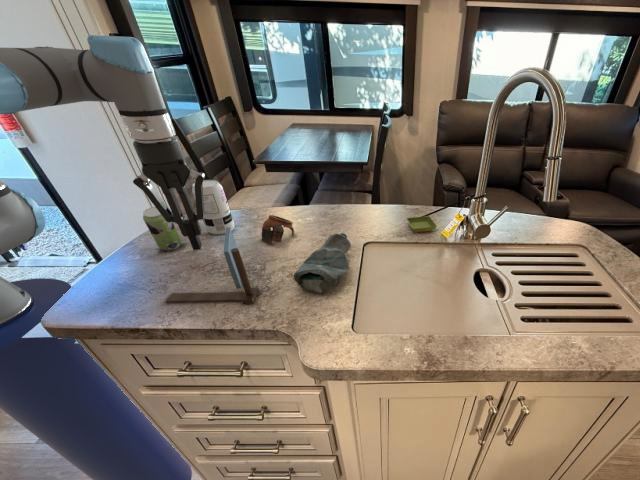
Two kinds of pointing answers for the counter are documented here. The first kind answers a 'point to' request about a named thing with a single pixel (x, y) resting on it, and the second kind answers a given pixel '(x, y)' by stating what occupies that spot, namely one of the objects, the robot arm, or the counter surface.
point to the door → (228, 247)
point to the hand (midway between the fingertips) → (197, 247)
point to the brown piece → (275, 229)
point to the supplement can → (215, 208)
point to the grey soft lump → (325, 265)
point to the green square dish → (421, 223)
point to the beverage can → (161, 230)
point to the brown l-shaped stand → (245, 297)
